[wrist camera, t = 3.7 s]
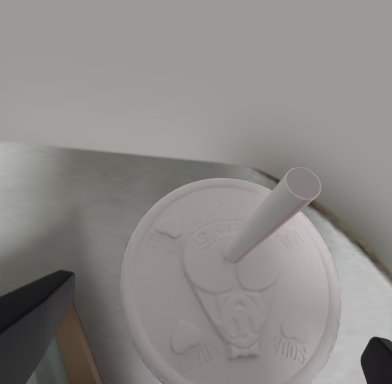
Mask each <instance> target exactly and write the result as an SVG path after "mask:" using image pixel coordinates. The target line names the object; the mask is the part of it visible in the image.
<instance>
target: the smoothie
mask: <svg viewBox="0 0 392 384" xmlns="http://www.w3.org/2000/svg"><path fill="white" fill-rule="evenodd" d="M320 192H321V182H320V180H319V178H318V177H317V176H316V174H314V173H313V172H312V171H310V170H309V169H307V168H304V167H295V168H292V169H290V170H289V171H288V172H287V173H286V175H285V176H284V177H283V178H282V179H281V181H280V182H279V183H278V184H277V185H276V187H275V188H274V189H273V190H270V189H268V188H266V187H264V186H261V185H259V184H256V183H253V182H250V181H245V180H241V179H234V178H210V179H203V180H199V181H195V182H192V183H189V184H186V185H183V186H181V187H179V188H177V189H175V190H173V191H171V192H170V193H168V194H167V195H165V196H164V197H162V198H161V199H160V200H159V201H157V202H156V203H155V204H154V205H153V206H152V207H151V208H150V209H149V210H148V211H147V212H146V214H145V215H144V216H143V217H142V219H141V220H140V222H139V223H138V225H137V226H136V228H135V230H134V231H133V233H132V235H131V237H130V240H129V242H128V244H127V247H126V250H125V254H124V257H123V262H122V267H121V275H120V299H121V307H122V312H123V317H124V321H125V324H126V328H127V331H128V333H129V335H130V338H131V340H132V343H133V345H134V347H135V349H136V350H137V352H138V354H139V355H140V357H141V358H142V360H143V361H144V363H145V364H146V366H147V367H148V368H149V369H150V371H151V372H152V373H153V374H154V375H155V376H156V377H157V378H158V379H159V380H160V381H161V382H162V383H163V384H311V383H312V382H313V381H314V380H315V379H316V377H317V376H318V375H319V373H320V372H321V371H322V369H323V367H324V366H325V364H326V362H327V361H328V359H329V357H330V354H331V352H332V350H333V348H334V345H335V341H336V338H337V335H338V330H339V325H340V317H341V293H340V286H339V280H338V275H337V271H336V268H335V265H334V262H333V259H332V257H331V254H330V252H329V249H328V248H327V246H326V244H325V242H324V240H323V238H322V237H321V235H320V234H319V232H318V230H317V229H316V228H315V226H314V225H313V224H312V223H311V221H310V220H309V219H308V218H307V217H306V216H305V215H304V214H303V213H302V212H301V210H302V209H303V208H304V207H305V206H307V205H308V204H309V203H310V202H311V201H313V200H314V199H315V198H316V197H317V196H318V195H319V194H320Z"/></svg>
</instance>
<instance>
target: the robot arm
mask: <svg viewBox="0 0 392 384" xmlns="http://www.w3.org/2000/svg"><path fill="white" fill-rule="evenodd" d="M74 285H75V274H74V273H73V272H70V271H66V270H58V271H56V272H54V273H52V274H49V275H47V276H45V277H43V278H41V279H38V280H36V281H34V282H32V283H29V284H27V285H25V286H23V287H21V288H18V289H16V290H14V291H12V292H9V293H7V294H5V295H3V296H0V384H26V383H27V381H28V380H29V378H30V377H31V375H32V374H33V372H34V371H35V369H36V368H37V366H38V364H39V363H40V361H41V360H42V358H43V356H44V355H45V353H46V351H47V349H48V347H49V345H50V343H51V341H52V339H53V338H54V336H55V334H56V332H57V330H58V328H59V326H60V324H61V322H62V320H63V318H64V316H65V314H66V312H67V310H68V308H69V306H70V304H71V302H72V299H73V295H74ZM361 366H362V369H363V372H364V375H365V378H366V381H367V384H392V342H391V341H390V340H388V339H384V338H380V337H373V338H371V339H370V341H369V343H368V345H367V346H366V348H365V350H364V352H363V354H362V356H361Z"/></svg>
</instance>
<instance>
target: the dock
mask: <svg viewBox="0 0 392 384" xmlns="http://www.w3.org/2000/svg"><path fill="white" fill-rule="evenodd" d="M26 384H103V383H102V381H101V378H100V375H99V373H98V370H97V367H96V364H95V362H94V359H93V356H92V354H91V351H90V348H89V346H88V343H87V340H86V337H85V335H84V332H83V329H82V327H81V324H80V321H79V319H78V316H77V313H76V311H75V308H74V305H73V302H71V304H70V306H69V308H68V310H67V312H66V314H65V316H64V318H63V320H62V322H61V324H60V326H59V328H58V330H57V332H56V334H55V336H54V338H53V339H52V341H51V343H50V345H49V347H48V349H47V351H46V353H45V355H44V356H43V358H42V360H41V361H40V363H39V364H38V366H37V368H36V369H35V371H34V372H33V374H32V375H31V377H30V378H29V380H28V381H27V383H26Z"/></svg>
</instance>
